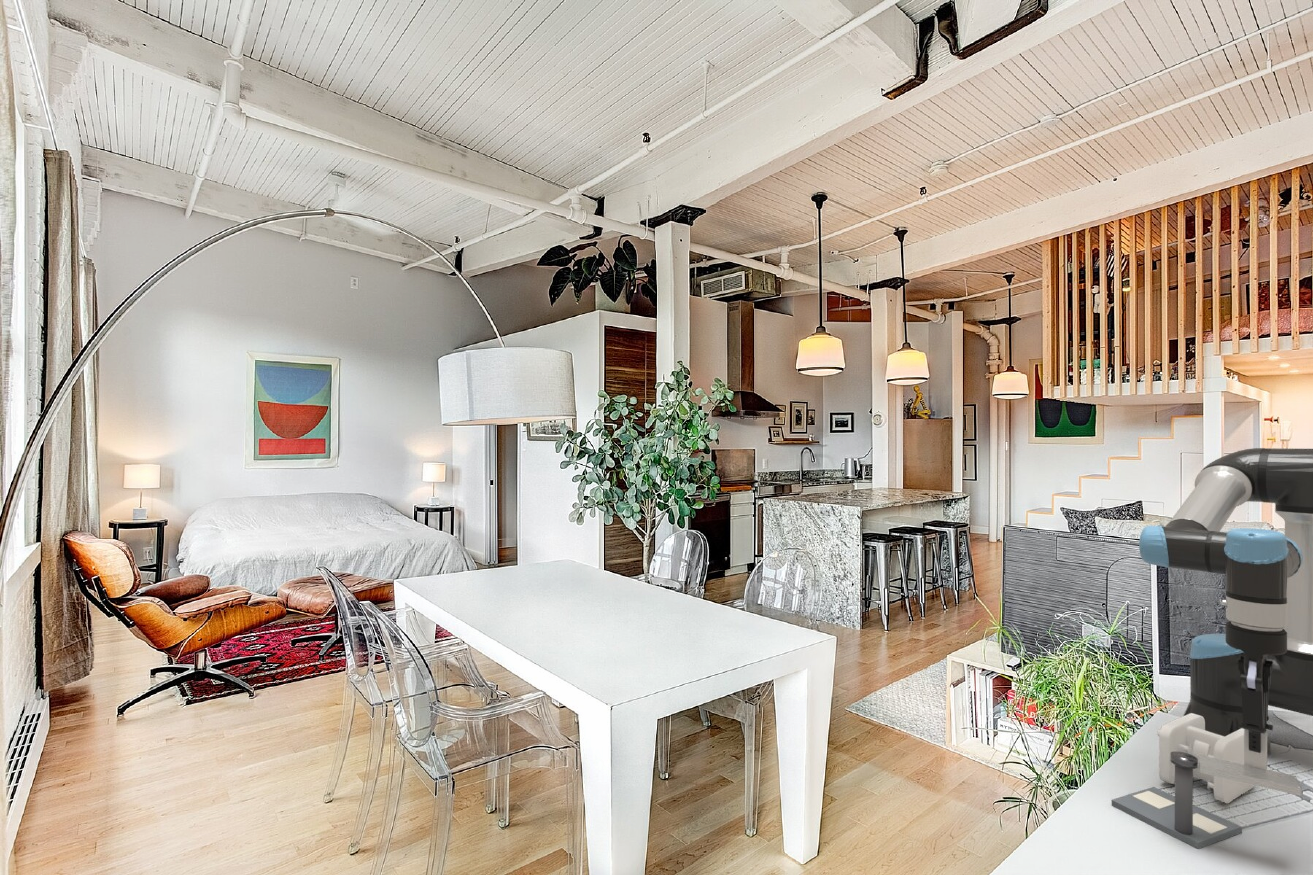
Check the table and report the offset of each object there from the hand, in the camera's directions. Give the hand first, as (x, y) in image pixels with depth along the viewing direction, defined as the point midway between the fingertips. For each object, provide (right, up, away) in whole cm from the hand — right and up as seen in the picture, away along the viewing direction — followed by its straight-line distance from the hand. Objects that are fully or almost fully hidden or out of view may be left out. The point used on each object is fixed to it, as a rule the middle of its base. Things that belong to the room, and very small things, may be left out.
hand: (1255, 768), depth 110 cm
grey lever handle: (-5, -1, -1) cm, 5 cm away
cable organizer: (+8, -13, +19) cm, 25 cm away
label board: (-7, -13, +8) cm, 17 cm away
